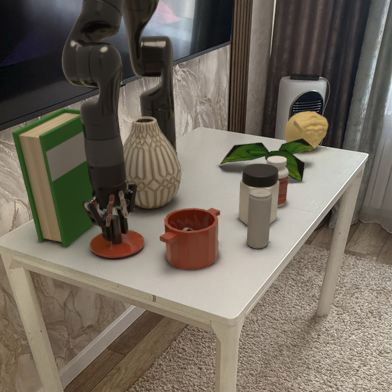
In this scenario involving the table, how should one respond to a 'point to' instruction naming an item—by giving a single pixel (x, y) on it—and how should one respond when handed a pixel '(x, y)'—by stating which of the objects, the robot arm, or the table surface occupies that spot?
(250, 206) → the beverage can
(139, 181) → the vase
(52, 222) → the hardback book
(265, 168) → the jar
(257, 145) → the plant
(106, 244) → the lid
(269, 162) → the pill bottle
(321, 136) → the sculpture
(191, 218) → the pot
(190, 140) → the table surface
